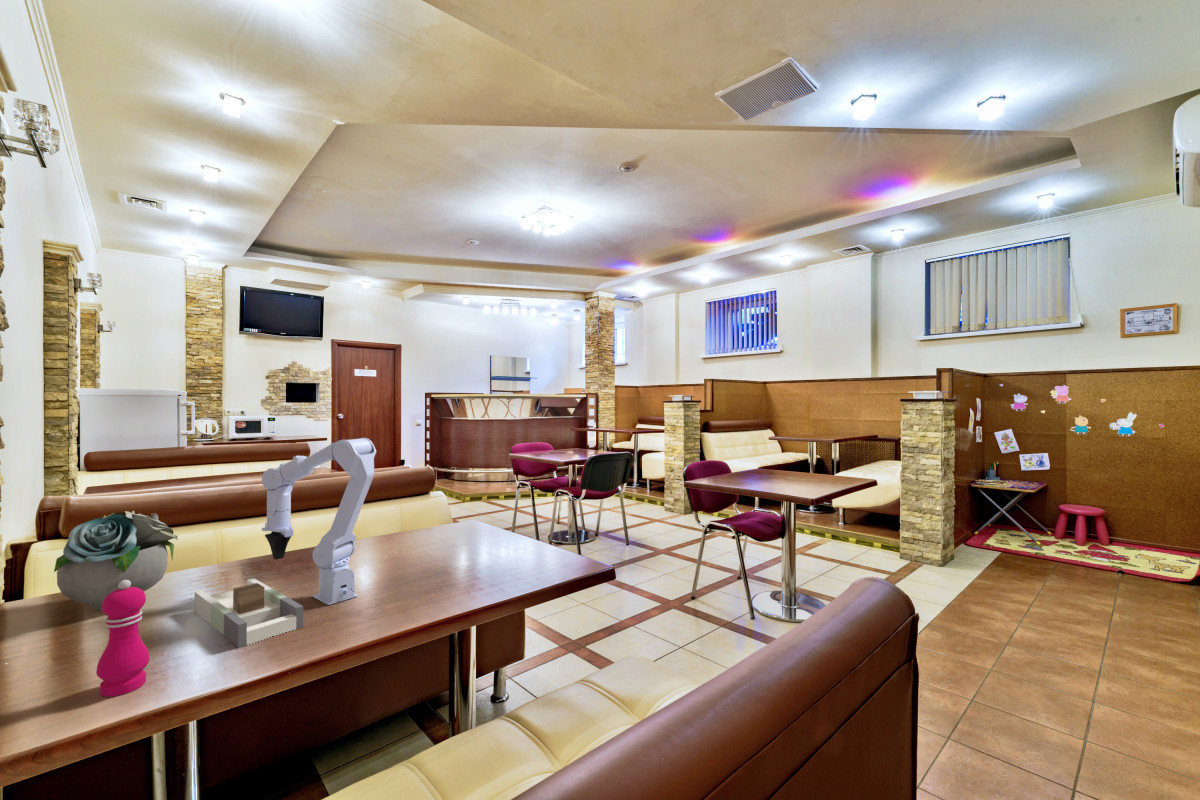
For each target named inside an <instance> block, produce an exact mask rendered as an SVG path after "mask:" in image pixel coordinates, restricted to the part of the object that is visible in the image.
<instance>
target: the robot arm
mask: <svg viewBox="0 0 1200 800" xmlns="http://www.w3.org/2000/svg"><path fill="white" fill-rule="evenodd" d="M376 454H377V450H376V446H375V445H374V443H373V442H372V440H370V439H369V438H367V437H360V438H354V439H353V438H352V439H340V440H337V441H336V442H333V443H332V442H331V443H330V444H328V445H327V446H326V447H323V448H322V449H320V450H318V451H316V452H315V453H313V454H311V455H309V456H305V455H295V456H293V457H292V460H290V461H288V462H281V463H280V464H279V466H278V467H276V468H272V467H270V468H268V469H266V470H265V471H264V472H263V474H262V476H261V483H262V486H263V487H264V488H266V522H264V527H262V528H261V531H262V532H270V533H266V534H264V537H265V539H266V540H267V541H268V543H269V546H270V551H271V555H272V557H273V560H281V559H284V558H285V554H286V549H287V546H288V543H289V542H290V540H291V538H292V537H293V536H294V528H293V526H292V521H291V520H292V518H291V516H292V509H291V508H292V507H291V506H292V503H291V501H292V500H291V499H292V492H293V487H294V484H295V483H296V482H297V481H299V480H301V479H303V478H306V477H307V476H310V475H311V474H313V473H314V468H315V467H318V466H321V465H323V464H325V463H329V462H330V461H334V460H335V461H336V462H337V464H339V466H340V467H341V468H342V470H344V472H346V474H348V476H349V480H348V482H347V485H346V487H345V490H344V493H343V496H342V498H341V501H340V504H339V506H338V509H337V511H336V513H335V516H334V520H333V522H332V525H331V527H330V529H329V531H327V532H326V533H325V534H324V535H323V536H322V537H321V539H320V541H319V542H318V544H317V545H316V546H314V548H313V550H312V559H313V562H314V564H315V565H316V566H317V568H318V570H319V571H318V580H319V581H318V589H319V590H318V593H316V594H312V597H313V598H314V599H316V600H318V601H319V602H322V603H323V604H326V605H327V606H328V605H330V606H331V605H332V604H333V605H334V604H336V603H340V602H343V601H347V600H351V599H353V598H356V597H358V596H359V595H358V593H356V592H355V573H354V571H353V569H352V568H350V561H351V556H353V555H354V552H355V551H356V550H355V549H356V545H355V542H356V539H357V535H356V534H355V533H354V531H353V530H354V529H355V526H356V523H357V521H358V518H359V515H360V513H361V510H362V507H363V505H364V502H365V499H366V497H367V494H368V492H369V490H370V487H371V485H372V482H373V479H374V475H375V456H376Z"/></svg>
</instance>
